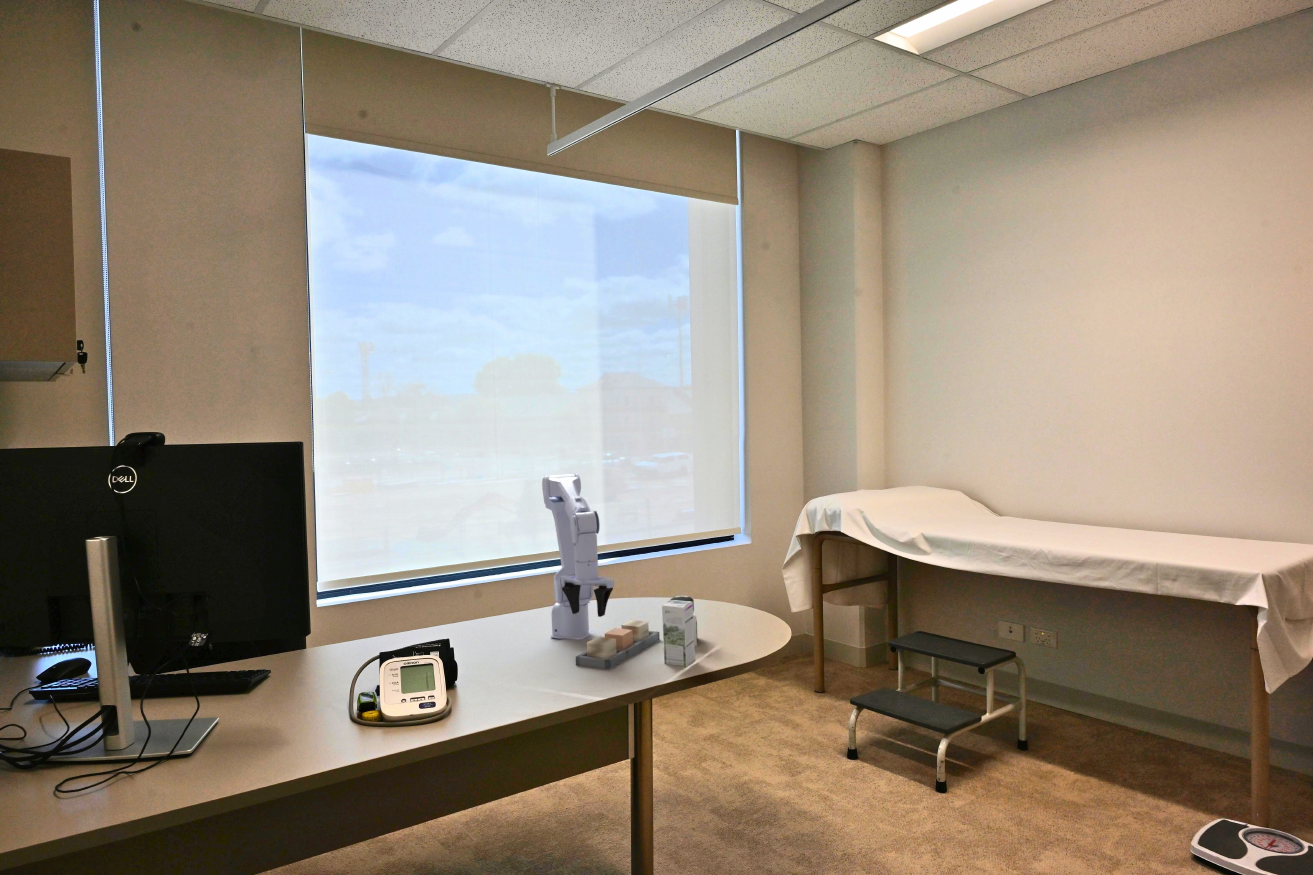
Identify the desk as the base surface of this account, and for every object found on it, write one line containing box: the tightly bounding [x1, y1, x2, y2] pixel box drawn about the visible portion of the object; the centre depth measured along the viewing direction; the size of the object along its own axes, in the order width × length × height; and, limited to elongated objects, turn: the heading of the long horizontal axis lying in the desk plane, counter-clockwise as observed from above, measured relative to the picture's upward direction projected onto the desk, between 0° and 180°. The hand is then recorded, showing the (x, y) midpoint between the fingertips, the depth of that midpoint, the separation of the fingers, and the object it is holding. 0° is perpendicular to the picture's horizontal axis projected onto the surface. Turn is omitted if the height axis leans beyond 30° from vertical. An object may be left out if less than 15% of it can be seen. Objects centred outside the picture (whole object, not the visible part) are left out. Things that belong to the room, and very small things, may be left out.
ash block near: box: [586, 636, 617, 659], centre depth 193 cm, size 5×5×5 cm
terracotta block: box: [604, 627, 633, 649], centre depth 200 cm, size 5×5×5 cm
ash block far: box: [621, 619, 650, 640], centre depth 207 cm, size 5×5×5 cm
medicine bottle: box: [670, 595, 699, 647], centre depth 206 cm, size 7×7×12 cm
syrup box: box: [661, 599, 696, 669], centre depth 191 cm, size 6×6×14 cm
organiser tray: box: [575, 630, 660, 671], centre depth 200 cm, size 9×25×3 cm, turn 152°
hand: (588, 614), depth 203 cm, fingers open, 7 cm apart
